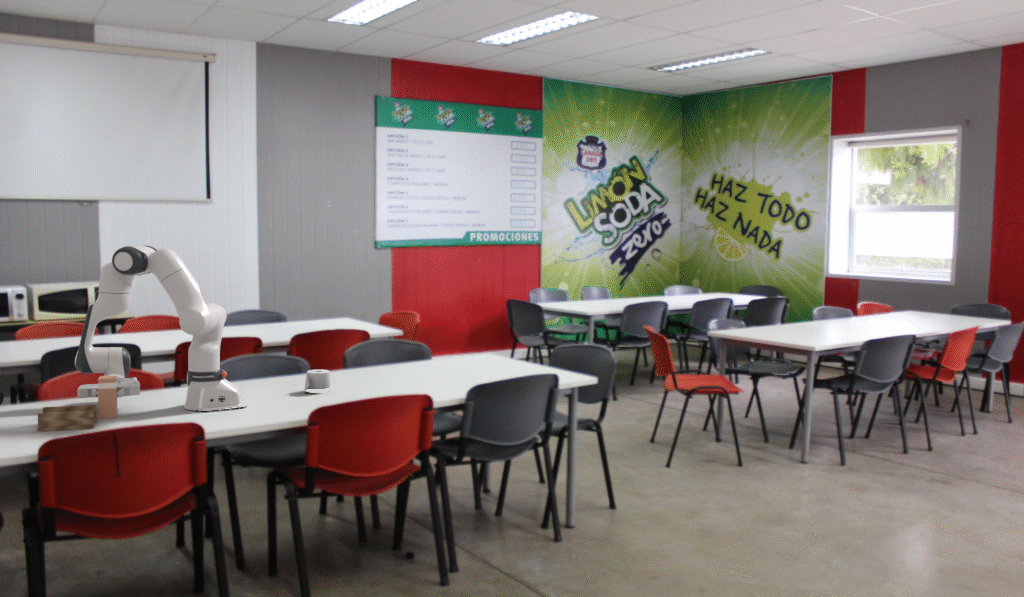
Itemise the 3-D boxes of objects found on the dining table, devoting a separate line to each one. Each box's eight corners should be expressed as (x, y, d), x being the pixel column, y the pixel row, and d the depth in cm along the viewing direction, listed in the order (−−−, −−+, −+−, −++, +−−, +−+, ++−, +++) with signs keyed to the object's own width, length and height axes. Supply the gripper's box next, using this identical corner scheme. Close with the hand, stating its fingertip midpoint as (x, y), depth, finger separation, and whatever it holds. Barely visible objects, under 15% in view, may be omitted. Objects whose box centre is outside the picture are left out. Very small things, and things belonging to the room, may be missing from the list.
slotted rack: (96, 420, 274) (96, 403, 273) (92, 428, 263) (92, 411, 262) (44, 423, 268) (43, 406, 267) (37, 431, 257) (37, 414, 256)
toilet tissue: (300, 395, 323) (300, 374, 322) (311, 388, 336) (311, 368, 336) (321, 396, 322) (322, 375, 322) (332, 389, 336) (332, 369, 335)
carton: (117, 413, 283) (117, 375, 282) (116, 417, 278) (115, 378, 277) (100, 414, 281) (99, 376, 280) (98, 418, 276) (97, 379, 275)
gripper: (79, 379, 286) (73, 387, 274) (141, 377, 294) (138, 384, 281) (79, 396, 287) (74, 404, 274) (141, 393, 295) (139, 401, 282)
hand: (107, 394), depth 278 cm, fingers closed on carton, 5 cm apart
